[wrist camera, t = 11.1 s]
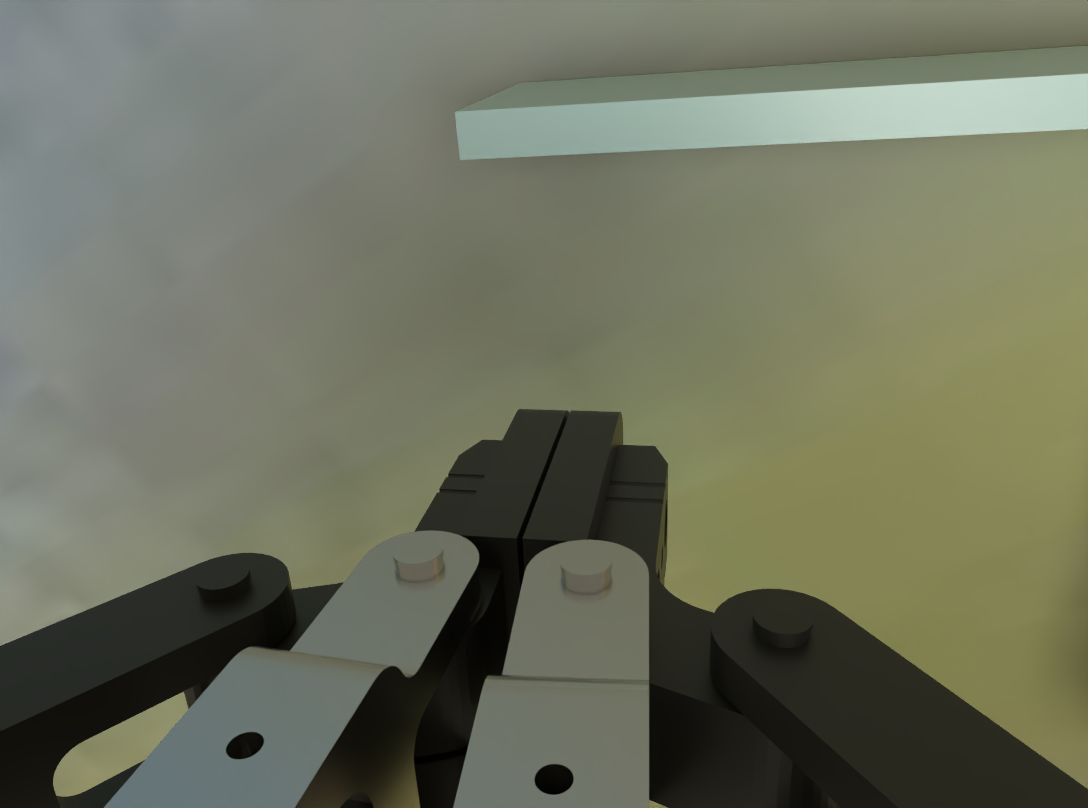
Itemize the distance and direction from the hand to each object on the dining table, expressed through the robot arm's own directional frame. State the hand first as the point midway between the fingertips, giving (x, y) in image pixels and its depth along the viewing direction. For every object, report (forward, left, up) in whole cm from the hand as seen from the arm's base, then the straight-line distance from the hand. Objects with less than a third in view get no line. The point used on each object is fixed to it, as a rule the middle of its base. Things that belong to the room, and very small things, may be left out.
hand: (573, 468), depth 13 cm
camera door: (+4, -6, -15) cm, 16 cm away
